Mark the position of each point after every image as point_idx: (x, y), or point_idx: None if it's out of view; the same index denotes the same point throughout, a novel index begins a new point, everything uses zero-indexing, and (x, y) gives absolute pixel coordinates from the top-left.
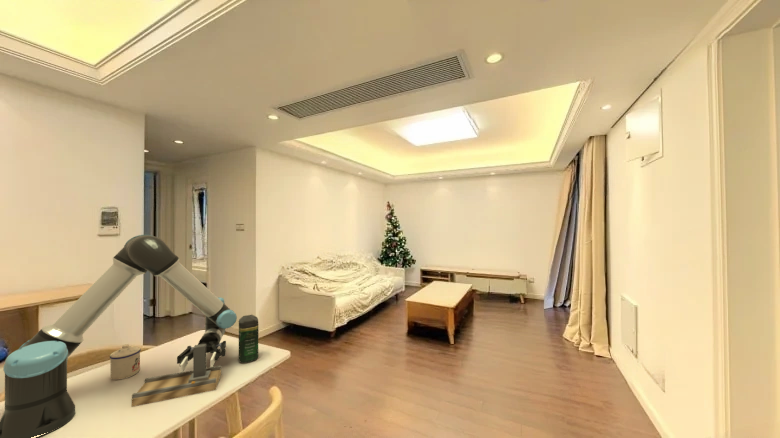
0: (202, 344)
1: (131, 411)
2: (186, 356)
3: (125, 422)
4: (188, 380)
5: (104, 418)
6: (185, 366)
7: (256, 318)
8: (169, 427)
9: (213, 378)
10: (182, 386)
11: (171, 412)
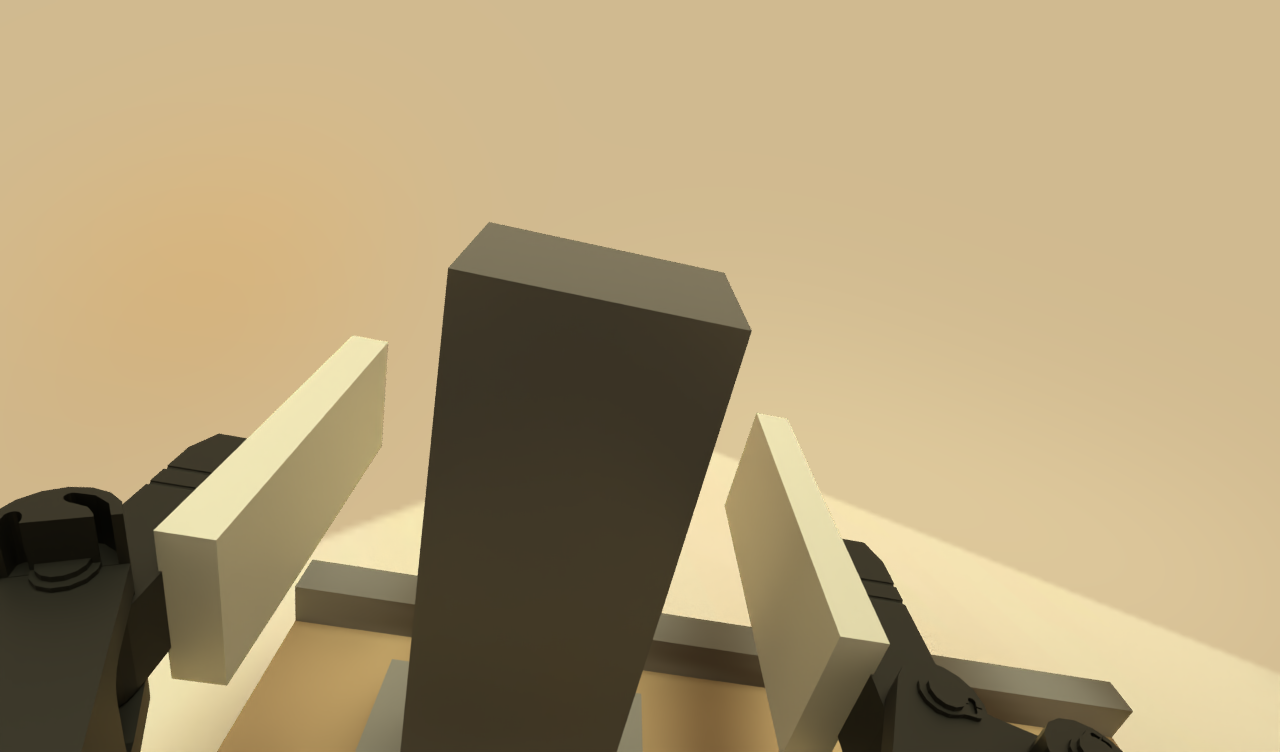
0: (553, 280)
1: None
2: (866, 634)
3: (903, 568)
4: (640, 694)
5: (1111, 679)
6: (752, 597)
7: None
8: None
9: (330, 593)
10: (672, 623)
11: None
